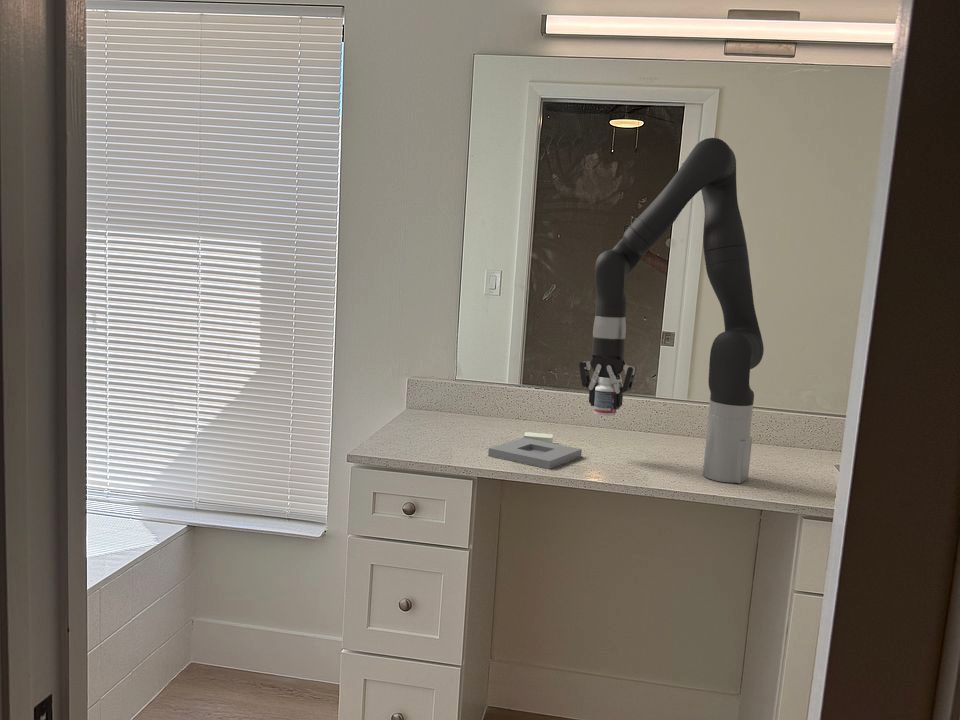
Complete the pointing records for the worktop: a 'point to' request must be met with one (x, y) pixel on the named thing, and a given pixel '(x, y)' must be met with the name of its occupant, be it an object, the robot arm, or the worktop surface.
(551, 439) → the soap bar
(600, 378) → the pill bottle
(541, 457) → the grey square slab
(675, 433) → the worktop surface
